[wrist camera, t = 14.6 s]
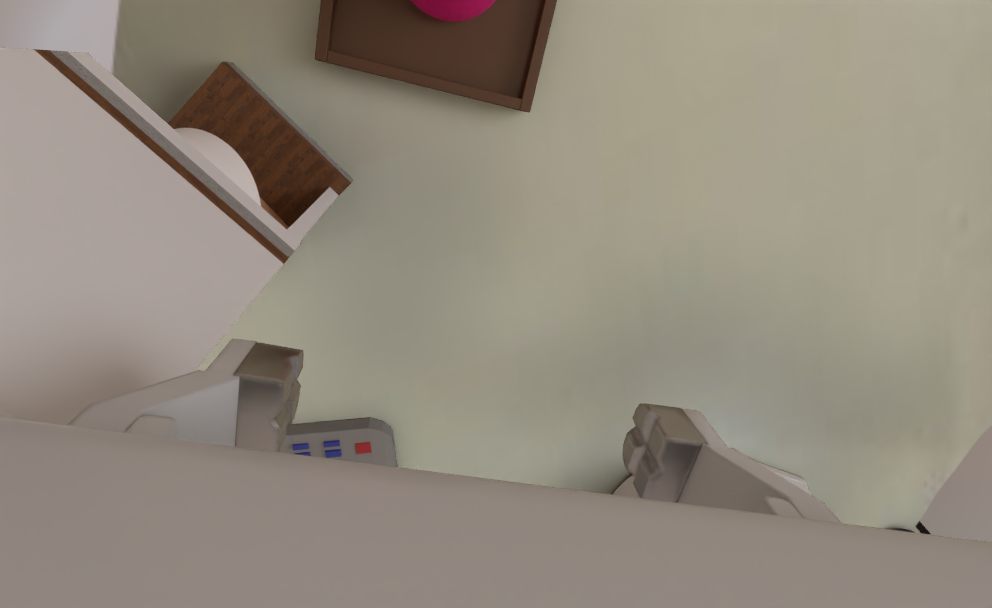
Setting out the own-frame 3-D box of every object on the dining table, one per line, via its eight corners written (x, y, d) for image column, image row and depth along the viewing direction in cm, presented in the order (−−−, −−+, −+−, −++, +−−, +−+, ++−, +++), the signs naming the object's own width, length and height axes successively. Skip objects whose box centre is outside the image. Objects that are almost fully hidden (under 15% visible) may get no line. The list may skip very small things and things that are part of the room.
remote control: (141, 435, 50) (128, 451, 48) (391, 415, 52) (389, 429, 50) (164, 504, 54) (153, 521, 51) (400, 483, 55) (398, 499, 53)
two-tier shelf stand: (353, 180, 44) (108, 474, 11) (264, 269, 46) (-158, 734, 13) (232, 62, 40) (-660, 2, 7) (141, 166, 42) (-872, 470, 9)
